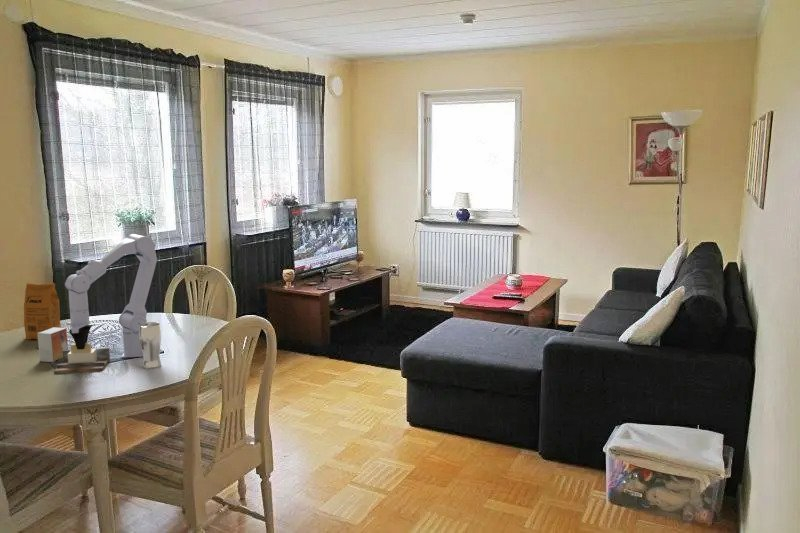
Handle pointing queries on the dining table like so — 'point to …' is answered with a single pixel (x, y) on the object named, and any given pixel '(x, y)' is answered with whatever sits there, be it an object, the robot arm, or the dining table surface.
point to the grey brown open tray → (99, 365)
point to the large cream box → (82, 354)
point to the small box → (52, 344)
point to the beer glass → (150, 344)
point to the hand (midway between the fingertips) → (81, 347)
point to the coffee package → (40, 309)
